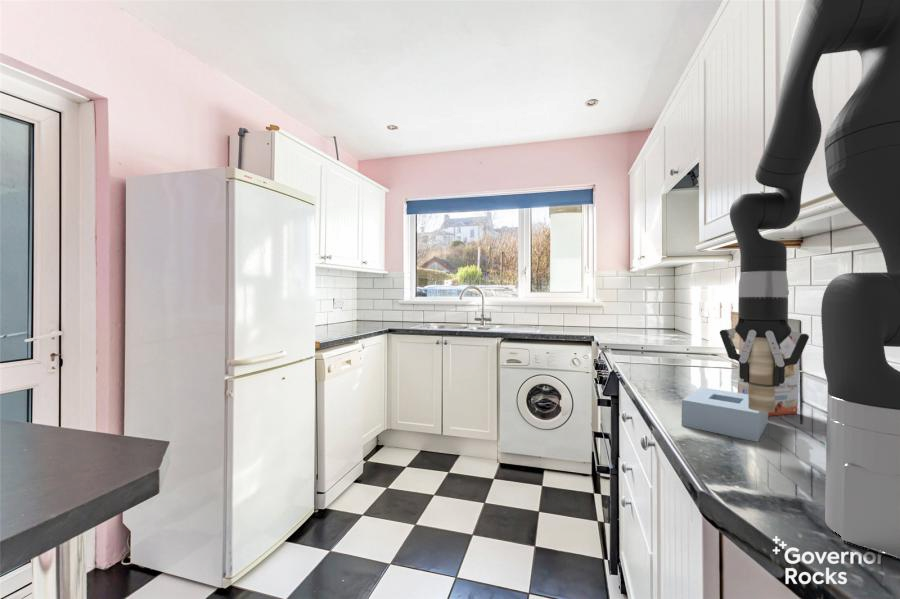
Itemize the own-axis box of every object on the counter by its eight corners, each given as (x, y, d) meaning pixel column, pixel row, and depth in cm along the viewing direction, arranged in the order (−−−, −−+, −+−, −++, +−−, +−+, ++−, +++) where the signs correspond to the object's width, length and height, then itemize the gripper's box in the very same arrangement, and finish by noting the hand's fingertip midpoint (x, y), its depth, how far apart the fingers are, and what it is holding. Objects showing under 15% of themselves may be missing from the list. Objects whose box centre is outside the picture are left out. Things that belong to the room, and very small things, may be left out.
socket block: (757, 441, 81) (758, 413, 81) (681, 425, 90) (681, 399, 90) (768, 422, 93) (768, 397, 93) (700, 409, 103) (700, 387, 103)
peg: (774, 413, 72) (774, 338, 72) (746, 409, 75) (746, 337, 75) (776, 409, 75) (776, 337, 75) (749, 405, 78) (750, 336, 78)
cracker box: (759, 418, 96) (761, 334, 96) (735, 411, 102) (737, 332, 102) (800, 414, 100) (801, 333, 100) (775, 407, 106) (776, 331, 106)
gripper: (714, 295, 78) (713, 380, 78) (811, 295, 68) (810, 393, 68) (722, 296, 83) (721, 376, 83) (813, 296, 73) (812, 387, 73)
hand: (761, 383), depth 75 cm, fingers closed on peg, 4 cm apart
